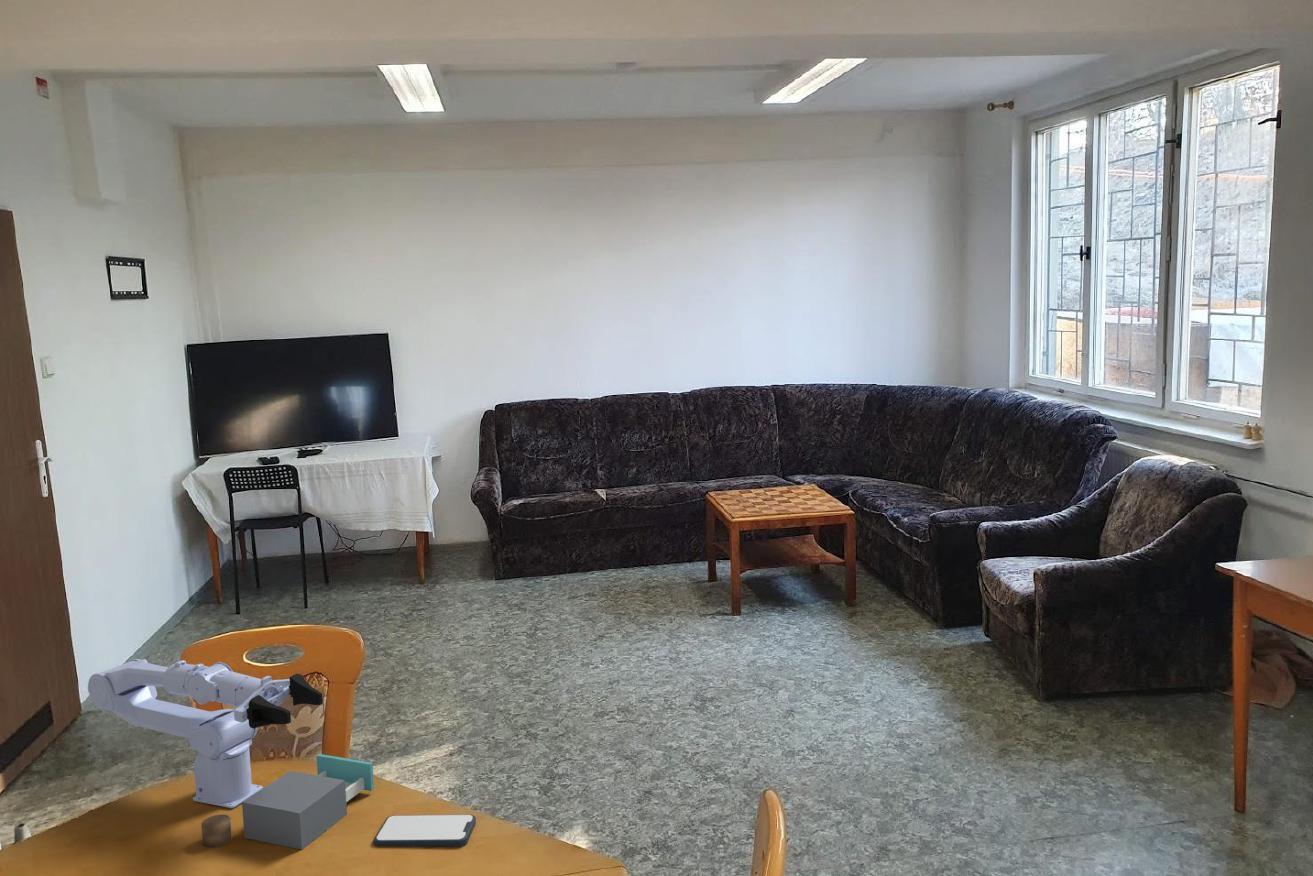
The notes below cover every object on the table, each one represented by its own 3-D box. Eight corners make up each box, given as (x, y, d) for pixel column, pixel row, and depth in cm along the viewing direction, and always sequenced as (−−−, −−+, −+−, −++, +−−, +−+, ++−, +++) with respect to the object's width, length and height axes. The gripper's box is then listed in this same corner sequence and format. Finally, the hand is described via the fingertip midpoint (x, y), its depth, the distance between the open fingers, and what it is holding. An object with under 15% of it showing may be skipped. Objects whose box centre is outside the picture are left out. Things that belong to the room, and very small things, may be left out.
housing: (292, 804, 177) (289, 770, 176) (347, 814, 173) (344, 780, 173) (244, 837, 166) (241, 802, 165) (302, 849, 162) (299, 813, 161)
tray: (320, 779, 185) (319, 754, 184) (374, 789, 181) (372, 762, 180) (278, 809, 174) (276, 782, 173) (333, 820, 170) (332, 792, 169)
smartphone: (371, 850, 163) (465, 849, 162) (371, 841, 163) (465, 840, 162) (388, 823, 172) (477, 822, 171) (387, 814, 171) (477, 813, 171)
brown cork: (196, 845, 164) (195, 825, 164) (216, 831, 168) (215, 812, 168) (217, 849, 163) (216, 830, 162) (237, 836, 167) (236, 817, 166)
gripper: (213, 688, 168) (272, 704, 163) (276, 657, 181) (333, 670, 176) (216, 726, 170) (275, 743, 164) (279, 691, 183) (335, 706, 177)
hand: (305, 708), depth 170 cm, fingers open, 7 cm apart
